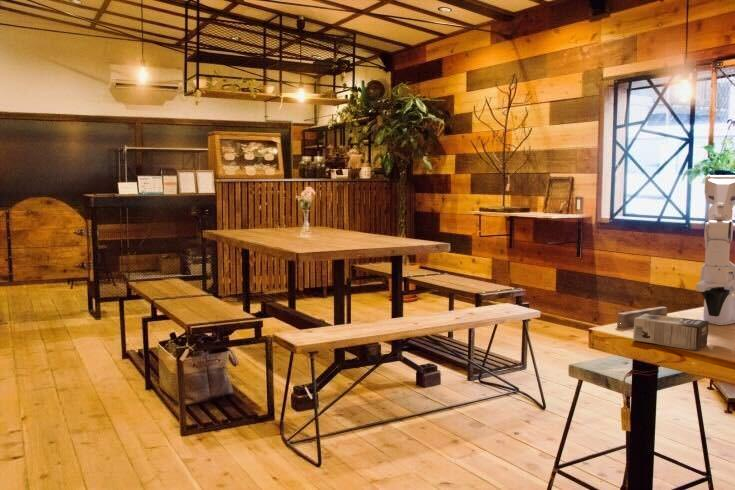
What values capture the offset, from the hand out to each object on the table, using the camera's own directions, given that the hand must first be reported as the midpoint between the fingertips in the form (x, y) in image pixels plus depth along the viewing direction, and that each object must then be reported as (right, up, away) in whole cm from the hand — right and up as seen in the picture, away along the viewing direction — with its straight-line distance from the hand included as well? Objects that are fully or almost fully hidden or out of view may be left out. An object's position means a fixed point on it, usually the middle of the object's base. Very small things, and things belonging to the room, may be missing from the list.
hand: (713, 315), depth 179 cm
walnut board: (-11, -4, +19) cm, 23 cm away
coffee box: (-20, -3, +1) cm, 20 cm away
